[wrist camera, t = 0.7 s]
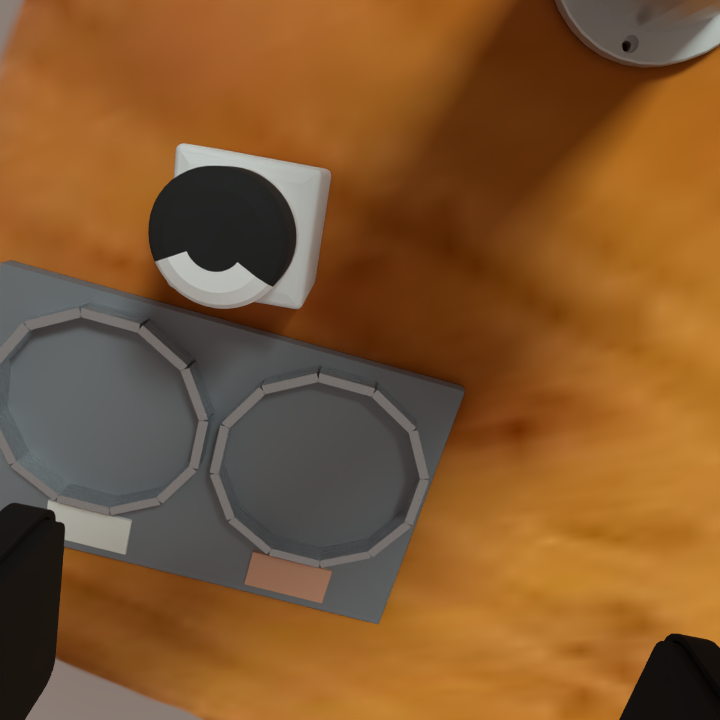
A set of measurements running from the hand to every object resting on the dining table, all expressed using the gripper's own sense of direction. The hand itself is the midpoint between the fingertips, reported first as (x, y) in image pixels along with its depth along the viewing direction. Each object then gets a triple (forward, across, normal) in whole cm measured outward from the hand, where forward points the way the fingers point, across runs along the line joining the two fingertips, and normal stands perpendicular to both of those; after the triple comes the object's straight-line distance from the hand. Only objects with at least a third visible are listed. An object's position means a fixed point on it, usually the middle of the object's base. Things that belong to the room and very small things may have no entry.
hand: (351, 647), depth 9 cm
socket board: (+29, +8, +14) cm, 33 cm away
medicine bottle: (+29, +7, -3) cm, 30 cm away
